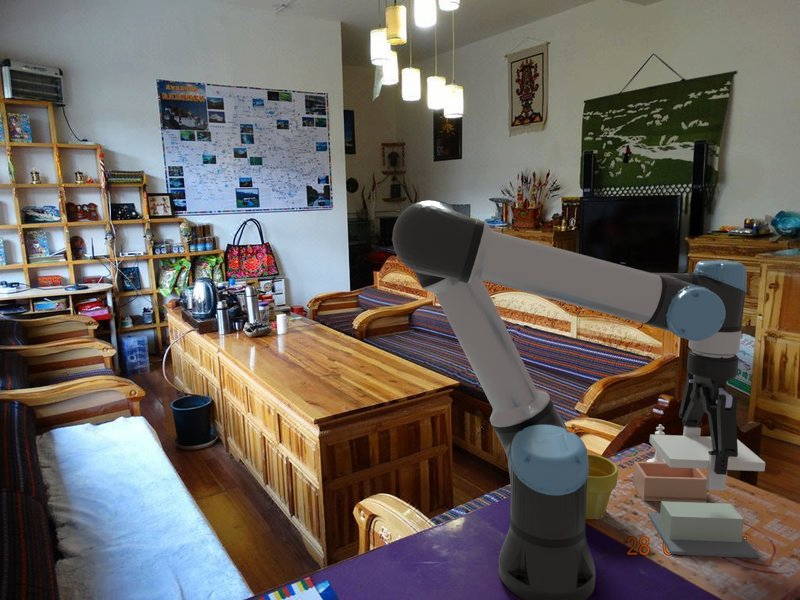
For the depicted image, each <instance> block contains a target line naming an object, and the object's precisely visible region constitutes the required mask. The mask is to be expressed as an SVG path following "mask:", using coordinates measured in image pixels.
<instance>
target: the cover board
mask: <svg viewBox="0 0 800 600" xmlns="http://www.w3.org/2000/svg"><path fill="white" fill-rule="evenodd" d="M649 443H650V445H651V446H652V447H653V448H654V450H655V452H656V451H657V452H658V453H659V455H660V456H661V457H662V459H663V460H664V461H665V462H666V463H667V465H668V466H669V467H675V468H698V469H699V470H701V469H702V470H708V464H709V453H708V451H713V449H712V441H711V436H701V435H700V436H683V435H671V434H665V435H655V434H650V435H649ZM737 446H738V456H737V457H729V459H728V469H727V471H744V472H745V471H747V472H748V471H749V472H752V471H753V472H765V468H766V462H765V461H764V459H762V458H761V457H759V455H757V454H756V453H755V452H753V451H752V450H751V449H750V448H748V447H747V446H746V445H745V444H744V443H743V442H741V441H740V440H739V439H738V438H737Z"/></svg>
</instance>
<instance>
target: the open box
mask: <svg viewBox="0 0 800 600" xmlns="http://www.w3.org/2000/svg"><path fill="white" fill-rule="evenodd" d="M632 475H633V477H632V478H633V479H632V485H633V486H634V488H635V489H636V491H637V493H638V495H640V497H641V499H642V500H643V502H645V501H646V502H661V501H665V502H695V503H707V498H708V490H707V488H706V484H707V477H706V476H705V474H704V473H703V472H702V471H701V469H698V468H675V467H669V466H668V465H667V463H665V462H647V461H634V462H633V474H632Z"/></svg>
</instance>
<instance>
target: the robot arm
mask: <svg viewBox="0 0 800 600" xmlns="http://www.w3.org/2000/svg"><path fill="white" fill-rule="evenodd" d="M391 237H392V245H393V248H394V253H395V254H396V256H397V258H398V259H399V260H400V262H401V263H402V264H403V265H404V266H405V267H407V268H408V269H410V270H411V271H413V273H414V275H415V277H416V279H417V281H418V283H419V284H420V286H421V289H422V290H424V291H428V292H429V293H433V294H434V295H435V297H436V299H437V302H438V303H439V305H440V306H441V307H440V308H441V310H442V311H443V313H444V315H445V317H446V320H447V321H448V323H449V325H450V328H451V329H452V331H453V333H454V335H455V337H456V339H457V341H458V342H459V344H460V346H461V348H462V351H463V353H464V354H465V357H466V358H467V361H468V363H469V364H470V367H471V369H472V371H473V373H474V374H475V376H476V377H477V380H478V382H479V383H480V386H481V389H483V392H484V393H485V396H486V397H487V400H488V401H489V404H490V405H491V407H492V412H491V415H490V417H489V422H490V424H491V426H492V428H493V431H494V433H495V434H496V436H497V438H498V440H499V441H500V444H501V446H502V448H503V449H504V452H505V455H506V461H507V467H508V473H509V479H510V484H509V485H510V502H509V504H510V507H509V509H510V513H509V514H510V515H509V516H510V517H509V519H510V520H509V522H510V523H509V528H508V531H507V533H506V536H505V539H504V541H503V543H502V546H501V549H500V552H499V556H498V574H499V577H500V580H501V581H502V583H503V584H504V586H505V587H506V588H507V589H508V590H509V591H510V593H513V594H514V595H516V596H517V597H519V598H520V599H523V600H587V599H589V598H590V596H591V595H592V594H593V592H594V590H595V586H596V567H595V563H594V560H593V557H592V553H591V550H590V547H589V545H588V541H587V537H586V522H587V519H586V503H587V479H588V473H589V460H588V454H589V453H588V449H587V446H586V443H584V441H583V439H582V438H580V437H579V436H578V435H577V434H576V433H574V432H569V430H568V428H567V426H566V423H565V421H564V420H563V418H562V416H561V415H560V414H559V412H558V409H556V407H555V404H554V402H553V400H552V398H551V397H550V394H549V393H548V392H546V391H544V390H540V389H538V388H537V387H536V385H535V383H534V381H533V379H532V377H531V375H530V373H529V371H528V370H527V367H526V365H525V363H524V361H523V359H522V357H521V355H520V353H519V350H518V349H517V346H516V345H515V343H514V341H513V339H512V337H511V334H510V333H509V331H508V329H507V327H506V324H505V323H504V321H503V318H502V317H501V314H500V313H499V311H498V309H497V307H496V304H495V303H494V301H493V298H492V297H491V294H490V293H489V292H490V291H489V290H488V288H487V287H486V284H485V282H487V283H491V284H495V285H498V286H502V287H505V288H509V289H512V290H513V289H514V290H517V291H520V292H525V293H528V294H532V295H535V296H539V297H542V298H547V299H550V300H555V301H557V302H562V303H565V304H569V305H572V306H576V307H580V308H584V309H588V310H591V311H595V312H599V313H601V314H606V315H609V316H613V317H617V318H621V319H624V320H628V321H632V322H636V323H640V324H641V325H642V324H643V325H646V326H650V327H651V328H657V329H660V330H663V331H667V332H670V333H672V334H673V335H675V337H679V338H682V339H685V340H688V348H689V349H690V350H689V351H688V353H687V362H686V363H687V364H686V370H687V371H686V379H685V386H684V390H683V394H682V399H681V403H680V407H679V412H678V417H679V418H680V419H682V425H683V430H682V431H683V432H682V436H701V431H702V428H701V427H700V426H703V422H702V421H701V420H702V419H703V418H702V417H703V415H704V414H707V420H708V427H709V432H710V437H711V441H712V449H713V451H708V453H709V464H708V469H707V473H706V474H707V477H706V478H707V484H706V488H707V491H717V492H726V485H727V476H728V470H727V469H728V459H729V457H737V456H738V446H737V439H738V431H737V430H738V424H737V404H738V396H737V394H729V392H728V384H727V382H729V380H733V379H736V378H737V376H738V369H739V363H740V362H739V356H738V355H737V354H739V352H740V346H741V339H743V333H742V329H743V319H744V318H743V317H744V309H745V302H746V295H747V294H746V293H747V292H748V289H747V286H748V285H747V284H748V281H747V279H748V275H747V272H748V271H747V268H746V267H747V266H745V264H743V263H742V262H739V261H733V260H731V261H730V260H717V259H716V260H711V259H710V260H699V261H698V262H697V263H696V264H695V268H694V270H693V272H688V273H687V272H686V273H676V272H674V273H672V272H649V271H645V270H641V269H636V268H633V267H629V266H626V265H622V264H618V263H614V262H611V261H608V260H607V261H606V260H604V259H599V258H596V257H593V256H589V255H584V254H581V253H577V252H574V251H570V250H566V249H562V248H558V247H554V246H550V245H548V244H544V243H540V242H536V241H532V240H529V239H525V238H520V237H519V236H518V237H517V236H513V235H510V234H506V233H503V232H498V231H495V230H493V229H492V228H491V227H490V226H489V223H488V222H487V221H484V220H480V219H477V218H473V217H470V216H468V215H465V214H463V213H460V212H459V211H458V209H457V208H456V207H454V206H453V205H451V204H449V203H448V202H445V201H441V200H436V199H434V200H431V199H430V200H423V201H420V202H419V201H418V202H416V203H414V204H412V205H409V206H408V207H407V208H405V209H404V210H403V211H402V212H401V214H400V215H399V216H398V217H397V219H396V221H395V224H394V226H393V230H392V236H391Z"/></svg>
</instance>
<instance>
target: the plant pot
mask: <svg viewBox="0 0 800 600" xmlns="http://www.w3.org/2000/svg"><path fill="white" fill-rule="evenodd" d="M588 460H589V473H588V479H587V503H586V520H588V519H596V518H600V519H602V518H603V517H604V516H605V515H604V514H606V511H607V509H608V508H607V507H608V505H609V501H610V499H611V498H610V497H611V496H612V495H611V494H612V491H613V490H614V489H616V487H617V485H618V476H619V470H618V465H616V464H615V463H614V462H613V461H612V460H610V459H608V458H606V457H605V456H601V455H598V454H593V453H588ZM602 516H603V517H602ZM601 517H602V518H601ZM596 520H597V519H596Z"/></svg>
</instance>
